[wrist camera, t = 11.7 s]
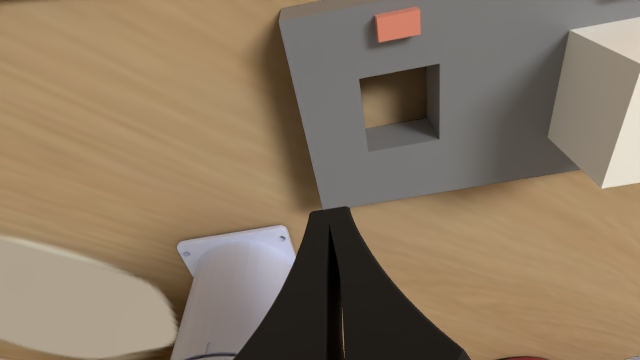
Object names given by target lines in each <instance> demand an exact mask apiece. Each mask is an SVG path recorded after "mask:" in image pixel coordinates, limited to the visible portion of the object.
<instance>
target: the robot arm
mask: <svg viewBox="0 0 640 360" xmlns="http://www.w3.org/2000/svg"><path fill="white" fill-rule="evenodd" d="M280 236H283V238H282V237H280ZM177 251H178V252H179V254H180V256H181V257H182V259H183V261H184V263H185V264H186V266H187V268H188V269H189V271H190V273H191V274H192V276H193V278H194V279H193V283H192V286H191V290H190V293H189V297H188V300H187V304H186V307H185V310H184V314H183V317H182V321H181V324H180V328H179V331H178V335H177V338H176V342H175V345H174V349H173V352H172V356H171V359H170V360H471V359H470V358H469V356H468V355H467V353H466V352H465V351H464V349H463V348H461V347H460V346H459V345H458V344H457V343H455V342H454V341H453V340H452V339H450V338H449V337H448V336H447V335H446V334H444V333H443V332H442V331H441V330H440V329H439V328H437V327H436V326H435V325H434V324H433V323H432V322H431V321H430V320H429V319H428V318H426V317H425V316H424V315H423V314H422V313H421V312H420V311H419V310H418V309H417V308H416V307H415V306H414V305H413V304H412V303H411V302H410V301H409V300H408V299H407V297H406V296H405V295H404V294H403V293H402V292H401V291H400V290H399V288H398V287H397V286H396V285H395V284H394V283H393V281H392V280H391V279H390V278H389V277H388V275H387V274H386V273H385V271H384V270H383V269H382V267H381V266H380V265H379V263H378V262H377V260H376V259H375V258H374V256H373V255H372V253H371V251H370V250H369V248H368V247H367V245H366V243H365V242H364V240H363V238H362V237H361V235H360V233H359V231H358V229H357V227H356V225H355V223H354V220H353V218H352V215H351V212H350V208H349V207H347V206H343V207H337V208H331V209H325V210H319V211H312V212H311V213H310V214H309V219H308V223H307V227H306V230H305V234H304V237H303V240H302V243H301V245H300V248H299V251H298V253H297V256H296V255H295V252H294V248H293V245H292V242H291V239H290V236H289V233H288V230H287V228H286V227H285V226H283V225H277V226H271V227H264V228H258V229H252V230H246V231H240V232H234V233H228V234H222V235H215V236H209V237H203V238H197V239H191V240H185V241H180V242H179V243H178V245H177ZM187 252H189V253H187ZM342 311H343V329H344V349H343V335H342ZM344 351H345V358H344Z"/></svg>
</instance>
